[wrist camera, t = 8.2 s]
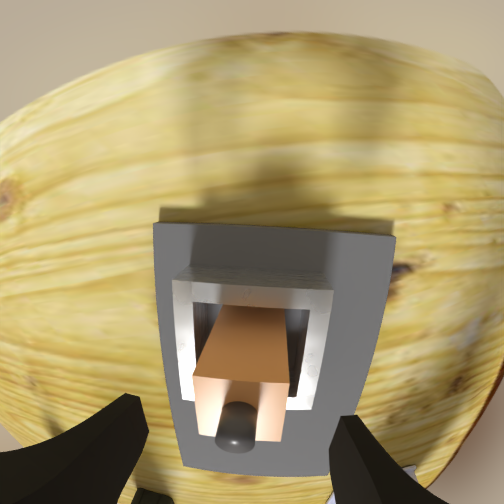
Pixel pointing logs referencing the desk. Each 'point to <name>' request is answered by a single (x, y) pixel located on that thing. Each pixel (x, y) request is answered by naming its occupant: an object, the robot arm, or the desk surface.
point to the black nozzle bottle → (150, 498)
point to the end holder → (255, 295)
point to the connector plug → (243, 378)
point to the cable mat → (337, 341)
